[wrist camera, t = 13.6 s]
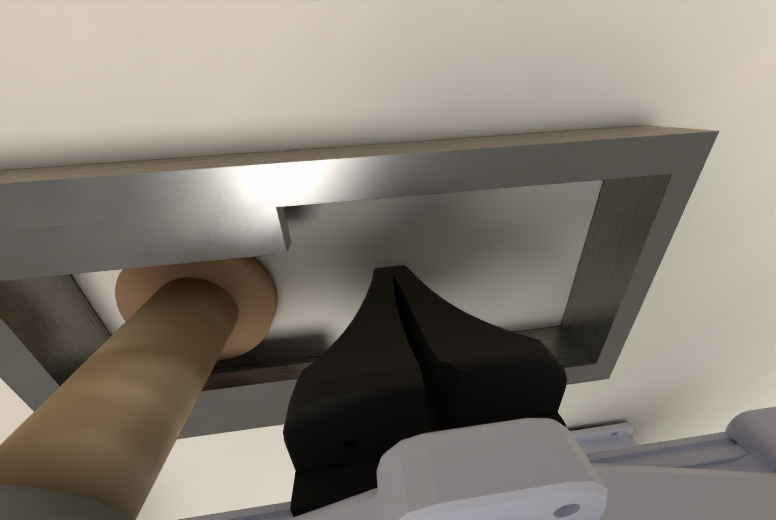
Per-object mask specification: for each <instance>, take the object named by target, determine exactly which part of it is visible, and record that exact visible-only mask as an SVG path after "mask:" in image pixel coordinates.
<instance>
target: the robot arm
mask: <svg viewBox="0 0 776 520" xmlns="http://www.w3.org/2000/svg"><path fill="white" fill-rule="evenodd" d="M566 383H567V376H566V372H565V370H564V368H563V367H562V366H561V365H560V363H559V362H558V361H557V359H556V358H555V357H554V356H553V354H552V353H551V352H550V351H549V350H548V348H547V347H546V346H545V345H544V344H543V343H542V342H541V341H540V340H539V339H535V338H532V337H528V336H525V335H521V334H518V333H515V332H511V331H508V330H505V329H503V328H500V327H497V326H494V325H492V324H489V323H487V322H485V321H482V320H480V319H478V318H476V317H474V316H472V315H470V314H468V313H466V312H464V311H462V310H460V309H458V308H457V307H455V306H453V305H452V304H450V303H449V302H447V301H446V300H444V299H443V298H441V297H440V296H438V295H437V294H436V293H434V292H433V291H432V290H431V289H430V288H428V287H427V286H426V285H425V284H424V283H423V282H422V281H421V280H419V279H418V278H417V277H416V276H415V275H414V274H413V273H412V272H411V271H410V270H409V269H408V268H407V267H406V266H405V265H402V266H392V267H383V268H375V269H374V270H373V277H372V281H371V284H370V287H369V290H368V292H367V295H366V297H365V299H364V301H363V303H362V305H361V307H360V309H359V311H358V312H357V314H356V316H355V317H354V319H353V320H352V322H351V323H350V324H349V326H348V327H347V328H346V330H345V331H344V332H343V333H342V335H341V336H340V337H339V338H338V339H337V340H336V341H335V342H334V343H333V344H332V345H331V346H330V348H329V349H328V350H327V351H326V352H325V353H323V354H322V355H321V356H320V357H319V358H317V359H316V360H315V361H314V362H312V363H311V364H310V365H309V366H308V367H306V368H305V369H303V370H302V371H301V373H300V375H299V377H298V380H297V382H296V385H295V387H294V390H293V393H292V396H291V399H290V402H289V405H288V409H287V414H286V419H285V425H284V430H283V435H284V442H285V444H286V447H287V450H288V452H289V455H290V457H291V460H292V463H293V465H294V468H295V471H296V472H295V479H294V485H293V492H292V499H291V502H285V503H279V504H273V505H266V506H260V507H254V508H248V509H241V510H235V511H229V512H223V513H217V514H210V515H204V516H198V517H192V518H185V519H179V520H776V407H770V408H764V409H757V410H751V411H747V412H743V413H741V414H739V415H738V416H736V417H735V418H734V419H733V420H732V421H731V422H730V423H729V424H728V426H727V428H726V432H721V433H714V434H708V435H702V436H696V437H690V438H683V439H677V440H671V441H665V442H658V443H652V444H646V445H640V446H639V445H638V444H637V443H636V441H635V440H634V439H633V438H632V437H631V435H632V433H633V431H634V428H633V427H632V425H631V424H630V423H620V424H613V425H606V426H600V427H593V428H587V429H580V430H574V431H569V430H568V428H566V424H565V422H564V421H563V419H562V418H561V416H560V415H559V413H558V409H559V406H560V403H561V400H562V398H563V395H564V392H565V389H566Z"/></svg>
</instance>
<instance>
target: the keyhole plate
mask: <svg viewBox="0 0 776 520" xmlns="http://www.w3.org/2000/svg"><path fill="white" fill-rule="evenodd" d="M718 133H719V131H713V130H699V129H686V128H673V127H659V126H646V125H642V126H628V127H614V128H600V129H585V130H571V131H557V132H542V133H528V134H514V135H500V136H485V137H471V138H457V139H443V140H428V141H414V142H400V143H386V144H371V145H357V146H343V147H328V148H314V149H300V150H286V151H271V152H257V153H243V154H229V155H214V156H200V157H186V158H172V159H157V160H143V161H129V162H115V163H100V164H86V165H72V166H57V167H43V168H29V169H15V170H0V378H1V379H2V380H3V381H4V382H5V383H6V384H7V385H8V386H9V387H10V388H11V389H12V390H13V391H14V392H15V393H16V394H17V395H18V396H19V397H20V398H21V399H22V400H23V401H24V402H25V403H26V404H27V405H28V406H29V407H30V408H31V409H32V410H33V411H34V412H35V411H36V410H37V409H38V408H39V407H40V406H41V405H42V404H43V403H44V402H45V401H46V400H47V399H48V398H49V397H50V396H51V395H52V394H53V393H54V392H55V391H56V390H57V389H58V388H59V387H60V386H61V385H62V384H63V383H64V382H65V381H66V380H67V379H68V378H69V377H70V376H71V375H72V374H73V373H74V372H75V371H76V370H77V369H78V368H79V367H80V366H81V365H82V364H83V363H84V362H86V361H87V360H88V359H89V358H90V357H91V356H92V355H93V354H94V353H95V352H96V351H97V350H98V349H99V348H100V347H101V346H102V345H103V344H104V343H105V342H106V341H107V340H108V339H109V338H110V337H111V336H110V334H109V333H108V331H107V330H106V328H105V327H104V325H103V324H102V322H101V321H100V319H99V318H98V316H97V315H96V313H95V312H94V310H93V309H92V307H91V305H90V304H89V302H88V301H87V299H86V298H85V296H84V295H83V293H82V292H81V290H80V289H79V287H78V286H77V284H76V283H75V281H74V280H73V278H72V277H71V275H70V274H77V273H88V272H98V271H108V270H119V269H129V268H139V267H150V266H160V265H171V264H181V263H191V262H202V261H212V260H223V259H233V258H243V257H254V256H264V255H274V254H285V253H287V252H288V250H289V247H290V245H291V238H290V234H289V230H288V225H287V221H286V217H285V212H284V208H283V206H295V205H307V204H319V203H331V202H343V201H355V200H366V199H378V198H390V197H402V196H414V195H426V194H438V193H449V192H461V191H473V190H485V189H497V188H509V187H521V186H532V185H544V184H556V183H568V182H580V181H592V180H604V182H603V186H602V189H601V193H600V196H599V199H598V203H597V206H596V209H595V213H594V216H593V220H592V223H591V226H590V230H589V233H588V236H587V240H586V243H585V247H584V250H583V253H582V257H581V260H580V264H579V267H578V270H577V274H576V277H575V280H574V284H573V287H572V291H571V294H570V297H569V301H568V304H567V307H566V311H565V314H564V318H563V321H562V324H561V326H558V327H550V328H542V329H534V330H526V331H518V332H515V333H518V334H521V335H525V336H528V337H532V338H535V339H539V340H540V341H541V342H542V343H543V344H544V345H545V346H546V347H547V348H548V350H549V351H550V352H551V353H552V354H553V356H554V357H555V358H556V359H557V361H558V362H559V363H560V365H561V366H562V367H563V368H564V370H565V372H566V376H567V383H566V385H568V384H575V383H582V382H589V381H596V380H604V379H609V377H610V375H611V373H612V371H613V368H614V366H615V364H616V362H617V359H618V357H619V355H620V353H621V350H622V348H623V346H624V344H625V341H626V339H627V337H628V335H629V332H630V330H631V328H632V326H633V324H634V321H635V319H636V317H637V315H638V312H639V310H640V308H641V306H642V303H643V301H644V299H645V297H646V294H647V292H648V290H649V288H650V285H651V283H652V281H653V279H654V276H655V274H656V272H657V270H658V267H659V265H660V263H661V261H662V258H663V256H664V254H665V252H666V249H667V247H668V245H669V243H670V240H671V238H672V236H673V234H674V231H675V229H676V227H677V225H678V222H679V220H680V218H681V216H682V214H683V211H684V209H685V207H686V205H687V202H688V200H689V198H690V196H691V193H692V191H693V189H694V187H695V184H696V182H697V180H698V178H699V175H700V173H701V171H702V169H703V166H704V164H705V162H706V160H707V157H708V155H709V153H710V151H711V148H712V146H713V144H714V142H715V139H716V137H717V135H718ZM319 357H320V356H315V357H307V358H299V359H291V360H283V361H275V362H267V363H259V364H251V365H243V366H235V367H226V368H218V369H212V371H211V373H210V375H209V377H208V379H207V381H206V383H205V385H204V387H203V389H202V391H201V393H200V395H199V397H198V399H197V401H196V402H195V404H194V406H193V408H192V410H191V412H190V414H189V416H188V418H187V420H186V422H185V424H184V426H183V428H182V430H181V432H180V434H179V436H178V438H177V439H181V438H189V437H196V436H203V435H210V434H217V433H224V432H232V431H239V430H246V429H253V428H260V427H267V426H274V425H282V424H285V419H286V414H287V409H288V405H289V402H290V399H291V396H292V393H293V390H294V387H295V385H296V382H297V380H298V377H299V375H300V373H301V371H302V370H303V369H305V368H306V367H308V366H309V365H310V364H311V363H312V362H314V361H315V360H316V359H317V358H319Z"/></svg>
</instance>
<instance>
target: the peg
mask: <svg viewBox="0 0 776 520" xmlns="http://www.w3.org/2000/svg"><path fill="white" fill-rule="evenodd" d="M115 297H116V302H117V306H118V308H119V311H120V313H121V315H122V316H123V318H124V320H125V321H126V322H125V323H124V324H123V325H122V326H121V327H120V328H119V329H118V330H117V331H116V332H115V333H114V334H113V335H112V336H111V337H110V338H109V339H108V340H107V341H106V342H105V343H104V344H103V345H102V346H101V347H100V348H99V349H98V350H97V351H96V352H95V353H94V354H93V355H92V356H91V357H90V358H89V359H88V360H87V361H86V362H84V363H83V364H82V365H81V366H80V367H79V368H78V369H77V370H76V371H75V372H74V373H73V374H72V375H71V376H70V377H69V378H68V379H67V380H66V381H65V382H64V383H63V384H62V385H61V386H60V387H59V388H58V389H57V390H56V391H55V392H54V393H53V394H52V395H51V396H50V397H49V398H48V399H47V400H46V401H45V402H44V403H43V404H42V405H41V406H40V407H39V408H38V409H37V410H36V411H35V412H34V413H33V414H32V415H31V416H30V417H28V418H27V419H26V420H25V421H24V422H23V423H22V424H21V425H20V426H19V427H18V428H17V429H16V430H15V431H14V432H13V433H12V434H11V435H10V436H9V437H8V438H7V439H6V440H5V441H4V442H3V443H2V444H1V445H0V520H136V518H137V516H138V514H139V512H140V510H141V508H142V506H143V504H144V502H145V500H146V498H147V496H148V494H149V492H150V490H151V488H152V486H153V484H154V482H155V481H156V479H157V477H158V475H159V473H160V471H161V469H162V467H163V465H164V463H165V461H166V459H167V457H168V455H169V453H170V451H171V449H172V447H173V445H174V443H175V441H176V440H177V438H178V436H179V434H180V432H181V430H182V428H183V426H184V424H185V422H186V420H187V418H188V416H189V414H190V412H191V410H192V408H193V406H194V404H195V402H196V401H197V399H198V397H199V395H200V393H201V391H202V389H203V387H204V385H205V383H206V381H207V379H208V377H209V375H210V373H211V371H212V369H213V367H214V365H215V363H216V362H217V360H224V359H229V358H233V357H236V356H240V355H242V354H244V353H246V352H248V351H250V350H251V349H253V348H254V347H256V346H257V345H258V344H259V343H260V342H261V341H262V340H263V339H264V337H265V336H266V334H267V332H268V330H269V328H270V325H271V323H272V320H273V317H274V314H275V311H276V307H277V293H276V288H275V285H274V283H273V280H272V278H271V277H270V275H269V273H268V272H267V270H266V269H265V268H264V266H263V265H262V264H261V263H260V262H259V261H258V260H257V259H256V258H254V257H243V258H233V259H223V260H212V261H202V262H191V263H181V264H171V265H160V266H150V267H139V268H129V269H123V270H122V271H121V273H120V274H119V277H118V279H117V282H116V288H115Z"/></svg>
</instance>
